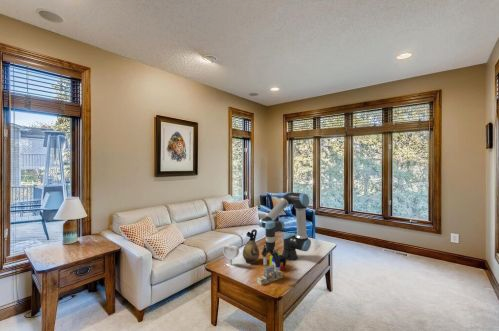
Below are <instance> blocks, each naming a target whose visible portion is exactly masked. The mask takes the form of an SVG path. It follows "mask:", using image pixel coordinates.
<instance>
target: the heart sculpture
mask: <svg viewBox="0 0 499 331" xmlns="http://www.w3.org/2000/svg"><path fill="white" fill-rule="evenodd" d="M222 253H223V255H224V257H226V259H227V260H229V261H228V263H227V264H226V263H225V264H226V265H227V266H226V267H228V266H230V267H229V268H232V267H233V268H232V269H236V268H235V267H237V268H238V265H234V264H233V260H234V259H235V258H237V257H238V256H239V253H240V248H239V247H238V246H236V245H231V244H225V245H223V246H222Z"/></svg>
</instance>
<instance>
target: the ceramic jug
mask: <svg viewBox="0 0 499 331" xmlns="http://www.w3.org/2000/svg"><path fill="white" fill-rule="evenodd" d="M257 234H258V231H257V229H254V228H253V229H252V230H251V232H250V231H248V232H247V233H246V237H247V238H248V237H249V240H248V241H247V242H246V243H245V245H244V247H243V249H242V256H243V259H244V261H245V263H247V264H255V263H256V261H257V260H258V258H259V257H260V249H259V246H258V244H257V242H256V237H257Z"/></svg>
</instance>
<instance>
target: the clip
mask: <svg viewBox="0 0 499 331" xmlns="http://www.w3.org/2000/svg"><path fill="white" fill-rule="evenodd" d="M263 270H264V271H263V272H264V274H263V276H264V277H266V278H267V281H269V273H270V274H272V275H273V276H274V278H276V272H275V265H271V266H270V265H268V266H265V267H264V269H263Z"/></svg>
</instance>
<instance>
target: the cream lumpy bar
mask: <svg viewBox="0 0 499 331" xmlns="http://www.w3.org/2000/svg"><path fill="white" fill-rule="evenodd" d="M283 277H284V273H283V271H282V270H280V271H279V270H278V271H276V278H274V276H273V275H272V274H271V272H270V273H269V281H267V278H266V277H264V275H260V276H257V277H256V283H257V284H259V285H260V286H263V285H266V284H269V283H272V282H274V281H277V280H280V279H282V278H283Z"/></svg>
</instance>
